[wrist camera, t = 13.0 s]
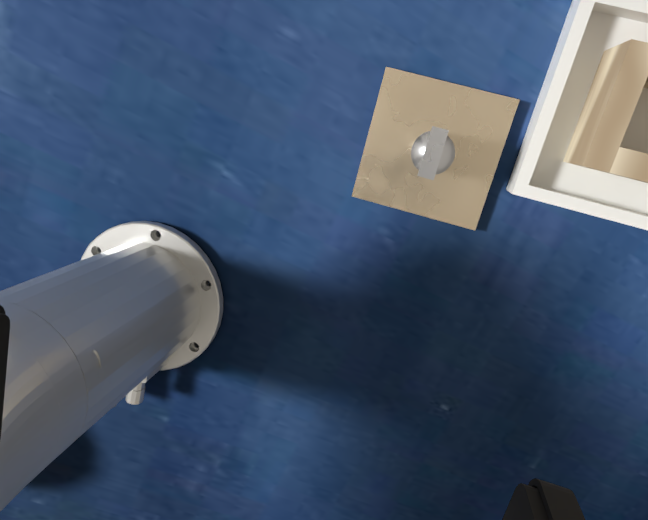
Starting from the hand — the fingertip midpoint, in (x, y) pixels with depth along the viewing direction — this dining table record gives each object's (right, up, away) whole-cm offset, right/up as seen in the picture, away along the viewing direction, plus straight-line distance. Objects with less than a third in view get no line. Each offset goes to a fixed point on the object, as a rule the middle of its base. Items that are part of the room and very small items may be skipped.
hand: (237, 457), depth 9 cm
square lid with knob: (+9, +11, +27) cm, 31 cm away
